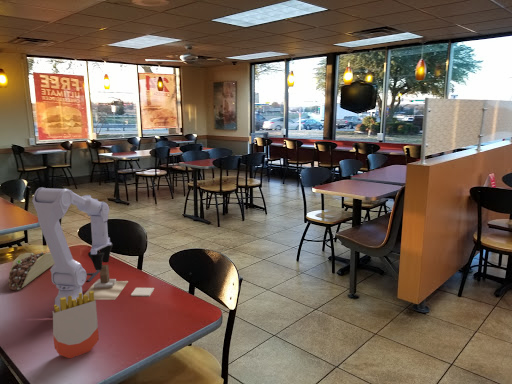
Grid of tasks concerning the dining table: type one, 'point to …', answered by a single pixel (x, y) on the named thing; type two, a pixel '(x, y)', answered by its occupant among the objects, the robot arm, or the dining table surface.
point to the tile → (142, 292)
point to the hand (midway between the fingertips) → (102, 265)
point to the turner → (104, 279)
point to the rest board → (107, 291)
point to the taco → (28, 268)
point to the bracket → (92, 275)
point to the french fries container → (75, 325)
